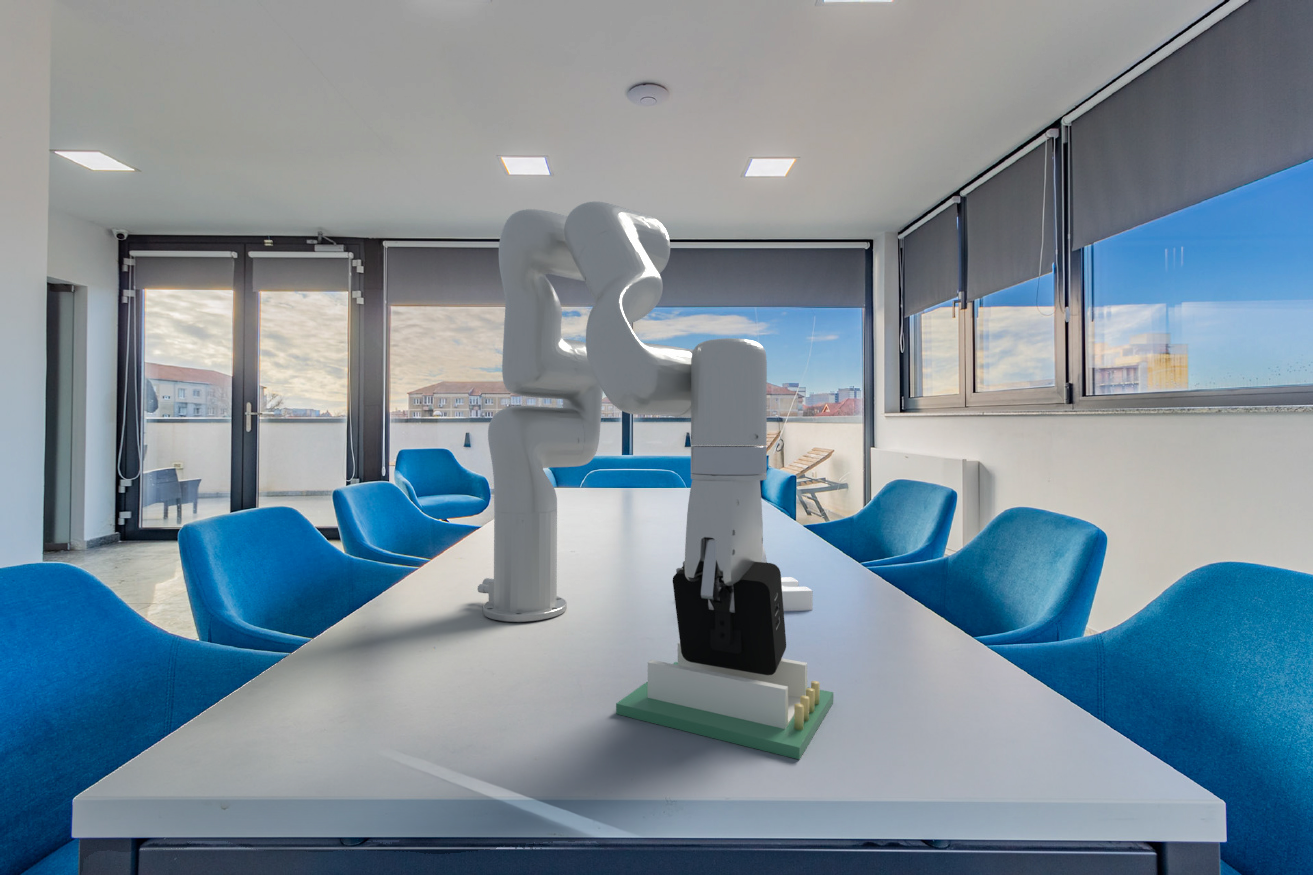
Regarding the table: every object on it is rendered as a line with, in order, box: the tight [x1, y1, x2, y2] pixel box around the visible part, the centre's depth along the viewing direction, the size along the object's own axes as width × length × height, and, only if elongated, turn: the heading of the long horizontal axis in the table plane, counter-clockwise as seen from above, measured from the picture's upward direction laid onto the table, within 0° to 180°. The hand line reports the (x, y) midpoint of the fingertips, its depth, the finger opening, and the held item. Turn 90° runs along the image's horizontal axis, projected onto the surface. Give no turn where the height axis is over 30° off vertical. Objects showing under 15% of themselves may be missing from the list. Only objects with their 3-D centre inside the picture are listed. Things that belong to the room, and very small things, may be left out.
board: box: [615, 641, 834, 760], centre depth 62 cm, size 18×13×4 cm
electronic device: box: [672, 560, 787, 675], centre depth 63 cm, size 4×10×10 cm, turn 64°
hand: (728, 648), depth 62 cm, fingers closed
